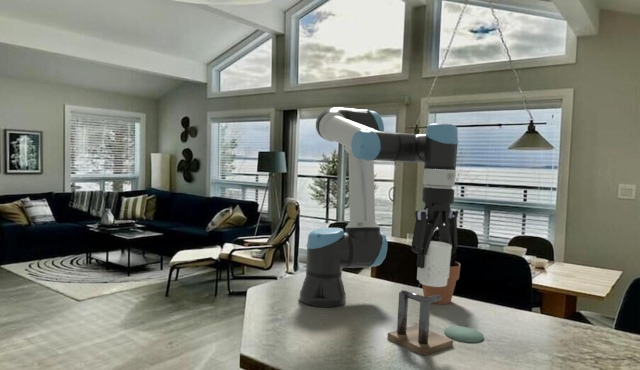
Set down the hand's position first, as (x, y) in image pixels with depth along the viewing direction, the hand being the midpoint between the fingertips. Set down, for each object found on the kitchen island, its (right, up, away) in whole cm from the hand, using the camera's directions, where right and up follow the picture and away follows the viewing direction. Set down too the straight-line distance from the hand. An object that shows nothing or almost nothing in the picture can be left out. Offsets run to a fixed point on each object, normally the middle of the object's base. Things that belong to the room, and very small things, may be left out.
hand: (433, 278), depth 109 cm
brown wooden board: (-3, -17, +3) cm, 17 cm away
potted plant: (+12, -16, +41) cm, 45 cm away
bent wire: (-3, -15, +3) cm, 16 cm away
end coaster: (+11, -17, +9) cm, 22 cm away
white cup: (0, -1, 0) cm, 1 cm away
